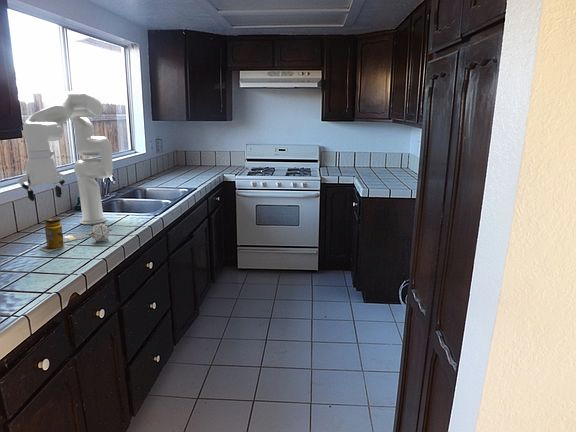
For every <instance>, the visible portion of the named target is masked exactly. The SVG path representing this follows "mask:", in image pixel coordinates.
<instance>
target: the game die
mask: <svg viewBox="0 0 576 432" xmlns="http://www.w3.org/2000/svg"><path fill="white" fill-rule="evenodd" d="M105 223H106V221H104V222H102V223H97V224H91V226H92V227H91V231H90V233H89V234H88V235H89V236H91V237H92V239H93V240H94V241H95V244H97V243H98V242H101V241H106V242H107V241H108V242H109V241H110V240H109V239H108V238H109V236H110V232H111V231H112V229H109V228H108V226H107V225H105Z"/></svg>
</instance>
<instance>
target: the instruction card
mask: <svg viewBox="0 0 576 432" xmlns="http://www.w3.org/2000/svg"><path fill="white" fill-rule="evenodd" d="M91 237H92V236H91V235H90V236H89V234H86V233H84V232H83V231H82V232H77V233H76V232H75V233H71V234H66V235H63V243H64V244H66V243H70V242H74V241H79V240H82V239H88V238H91Z"/></svg>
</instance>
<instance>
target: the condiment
mask: <svg viewBox="0 0 576 432" xmlns="http://www.w3.org/2000/svg"><path fill="white" fill-rule="evenodd" d="M44 222H45V223H44V224H45V226H44V230H45V231H44V233H45V239H46V245H43V246H39V247H38V249H39V250H41V251H44V252H48V253H50V252H52V251H56V250H60V249H64V248H67V247H68V245H66V244H65V243H63V236H64V235H63V226H62V224H61V219H60V218H59V217H48V218H46V219H45V221H44Z"/></svg>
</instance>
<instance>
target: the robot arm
mask: <svg viewBox="0 0 576 432" xmlns="http://www.w3.org/2000/svg"><path fill="white" fill-rule="evenodd" d="M103 110H104V108H103V104H102V103H101V101H100V100H99V99H98V98H97V97H95V96H94V95H93V94H92V93H91V94H90V93H89V92H87V91H80V90H79V91H78V90H75V91H73V90H71V91H69V90H68V91H66V90H65V91H61V92H59V93H58V95H56V97H55V99H54V100H53V101H52V103H51V104H50V105H49V106H47V107H45V108H42V109H40V110H38V111H36V112H34V113H32V114H30V115H29V116H28V117H27V119H26V120H25V121H24V123H23V124H22V127H23V131H22V130H21V134H22V136H23V138H24V139H25V142H26V148H27V155H28V159H26V160H25V161H26V162H25V173H26V174H25V175H23V176H22V177H20V178H19V179H17V183H18V184H19V185H20V186H21V187H22V188H23V189H25V190H26V193H27V197H28V200H29V201H31V202H34V201H35V194H34V191H33V188H34V187H35V186H43V185H51V184H53V185H54V186H55V188H54V189H55V196H56V198H61V197H62V188H63V185H64V184H65V182H66V180H67V175H65V174H62V173H61V172H58V170H57V166H56V164H55V161H54V158H53V157H52V156H55V152H54V151H52V150H51V148H50V142H56V141H59V140H60V139H62V137H63V135H64V130H63V127H62V126H61V124H64V123H66V122H67V121H69V120H70V121H71V123H72V124H73V125H72V126H73V129H74V136H75V137H74V139H75V150H76V153H77V154H78V155H79V156H82V157H83V156H84V157H100V158H81V159H78V160H76V161H74V164H73V170H74V174H75V176H76V180H77V185H78V186H77V187H78V192H79V193H78V194H79V200H80V201H79V202H80V208H81V216H82V217H81V219H79V224H82V225H92V224H93V225H97V224H102V223H103V222H106V221H107V220H108V218H107V217H106V216H104V213H103V212H104V210H103V205H102V194H101V187H100V184H99V182H98V181H96V179H108V178H111V177H112V175H113V172H114V171H113V170H114V168H113V152H112V150H113V149H112V145H111V143H112V142H111V141H110V139H109V137H106V136H100V135H97V136H96V135H95V129H94V125H93V123H92V122H91V121H90V119H88V118H99V117H100V116H101V115H102V113H103ZM59 177H60V180H59ZM25 181H26V182H27V184H26V183H25Z"/></svg>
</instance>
